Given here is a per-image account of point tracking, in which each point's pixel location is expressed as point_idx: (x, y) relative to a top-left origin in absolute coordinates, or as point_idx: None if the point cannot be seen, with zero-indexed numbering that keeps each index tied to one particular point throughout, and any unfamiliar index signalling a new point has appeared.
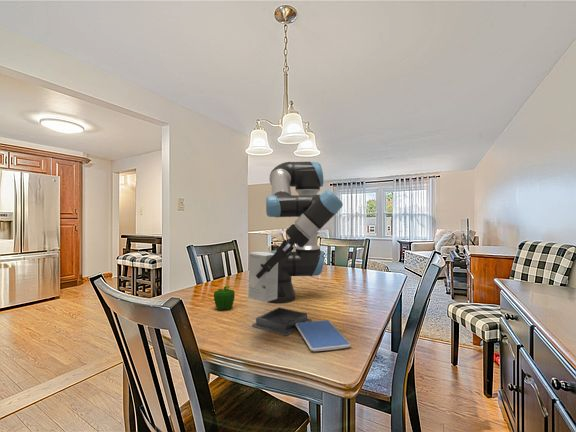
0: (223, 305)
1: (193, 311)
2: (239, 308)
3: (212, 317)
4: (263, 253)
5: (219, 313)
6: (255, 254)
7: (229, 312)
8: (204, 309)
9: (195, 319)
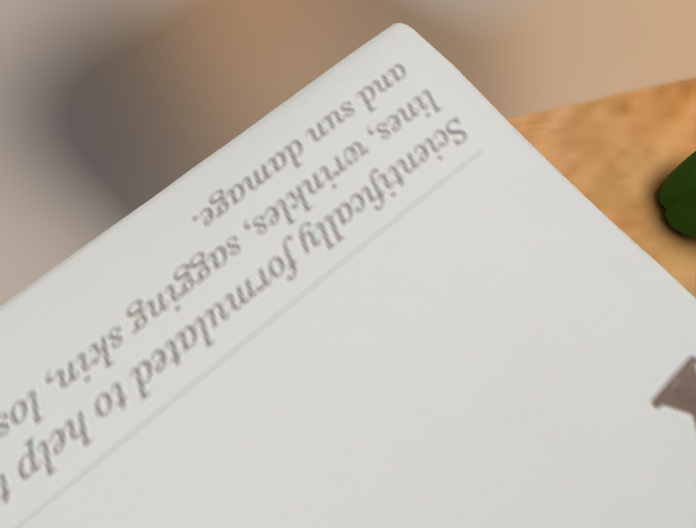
0: (672, 195)
1: (645, 96)
2: (690, 273)
3: (571, 169)
4: (135, 481)
5: (620, 191)
6: (169, 188)
7: (633, 230)
8: (671, 132)
9: (552, 114)
